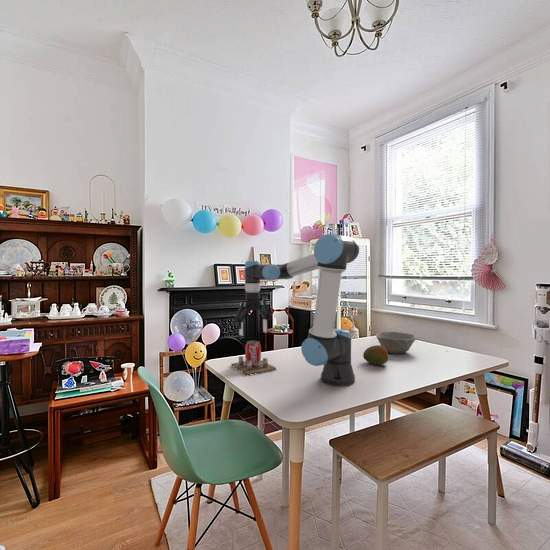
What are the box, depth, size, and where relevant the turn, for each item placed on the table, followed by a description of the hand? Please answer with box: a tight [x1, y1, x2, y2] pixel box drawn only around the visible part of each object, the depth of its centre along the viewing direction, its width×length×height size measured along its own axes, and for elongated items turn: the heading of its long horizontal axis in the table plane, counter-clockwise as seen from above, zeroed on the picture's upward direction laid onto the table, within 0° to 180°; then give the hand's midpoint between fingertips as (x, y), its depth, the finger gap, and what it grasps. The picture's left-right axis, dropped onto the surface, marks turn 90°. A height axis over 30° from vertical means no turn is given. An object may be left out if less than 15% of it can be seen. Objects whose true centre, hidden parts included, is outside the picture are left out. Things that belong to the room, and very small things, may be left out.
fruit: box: [362, 344, 389, 366], centre depth 172 cm, size 12×13×10 cm
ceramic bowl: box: [375, 331, 418, 355], centre depth 195 cm, size 22×23×10 cm
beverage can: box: [244, 340, 262, 368], centre depth 166 cm, size 8×8×12 cm
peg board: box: [230, 356, 277, 376], centre depth 166 cm, size 18×16×5 cm
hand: (253, 333), depth 165 cm, fingers open, 13 cm apart
